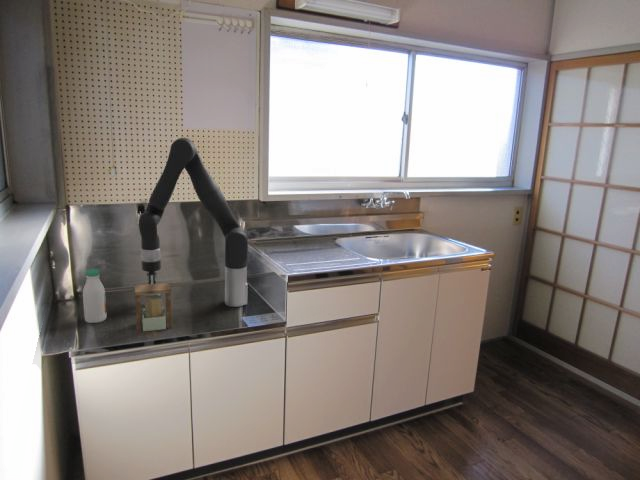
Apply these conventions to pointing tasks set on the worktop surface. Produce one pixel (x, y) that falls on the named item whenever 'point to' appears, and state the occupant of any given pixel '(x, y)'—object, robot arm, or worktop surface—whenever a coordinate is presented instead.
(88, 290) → the milk bottle
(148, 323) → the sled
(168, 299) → the tunnel
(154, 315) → the skincare box
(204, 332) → the worktop surface
